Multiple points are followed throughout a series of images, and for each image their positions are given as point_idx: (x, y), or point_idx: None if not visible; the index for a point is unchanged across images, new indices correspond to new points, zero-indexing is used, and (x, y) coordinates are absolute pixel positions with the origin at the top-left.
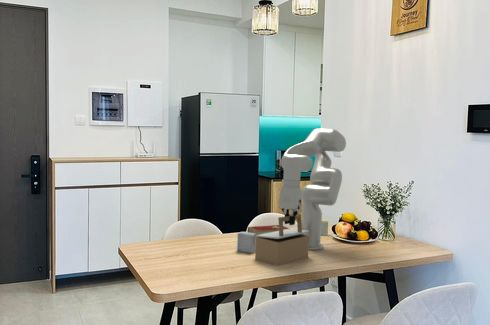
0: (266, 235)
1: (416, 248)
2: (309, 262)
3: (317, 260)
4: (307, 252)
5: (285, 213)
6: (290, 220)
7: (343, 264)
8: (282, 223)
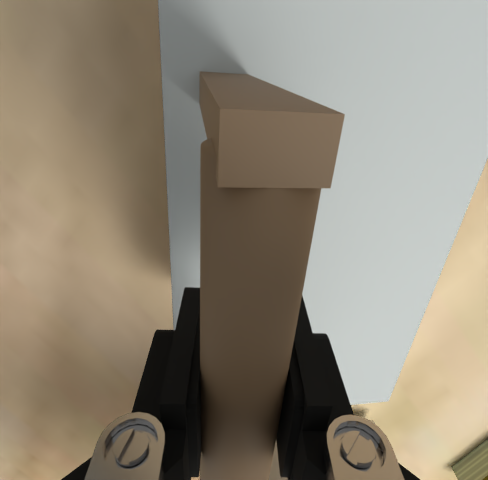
0: (422, 12)
1: None
2: (124, 220)
3: (127, 277)
4: None
5: (335, 454)
6: (178, 335)
7: (10, 312)
8: (207, 125)
